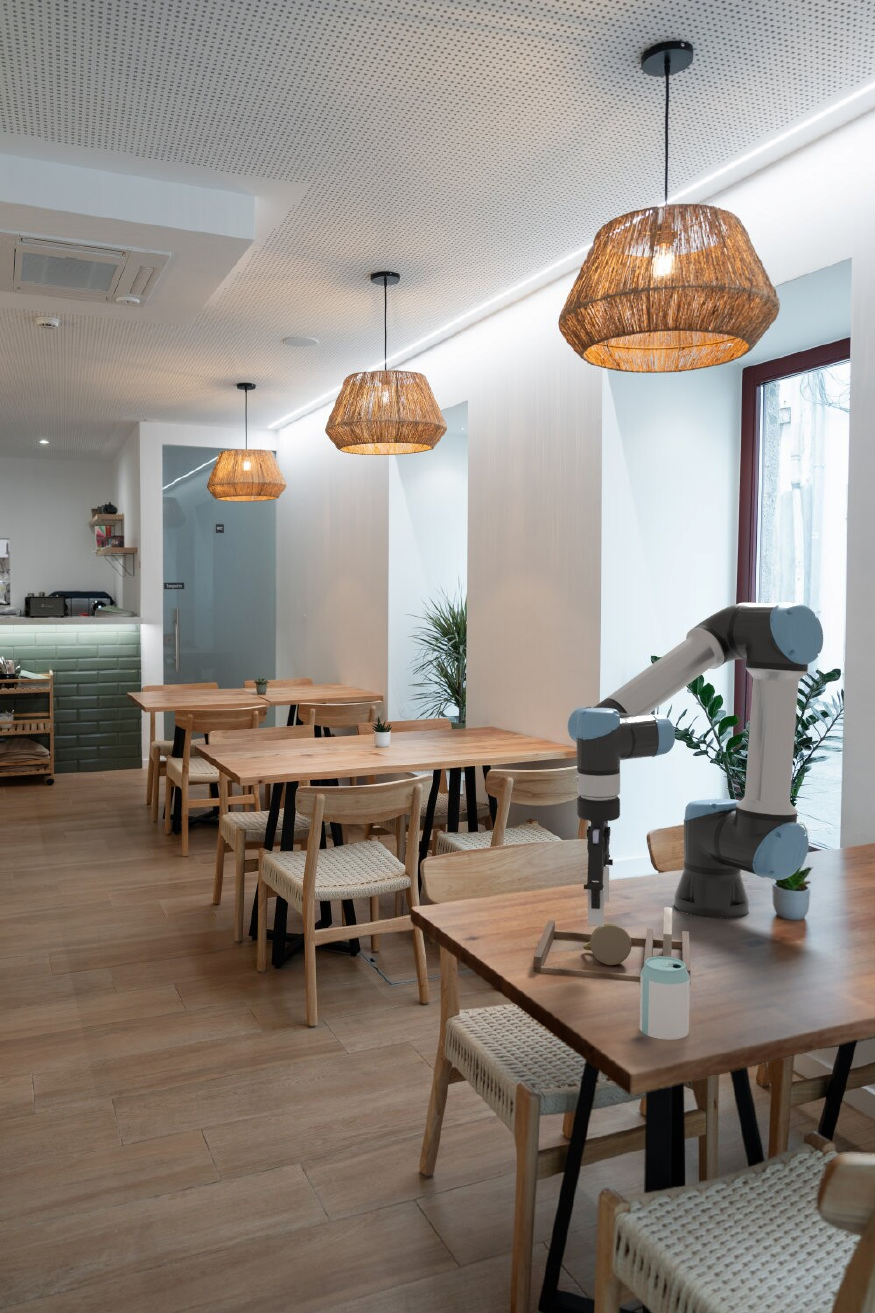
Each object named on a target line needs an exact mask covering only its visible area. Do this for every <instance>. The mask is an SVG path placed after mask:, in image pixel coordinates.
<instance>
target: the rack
mask: <svg viewBox="0 0 875 1313" xmlns="http://www.w3.org/2000/svg"><path fill="white" fill-rule="evenodd" d="M555 928H556V921H555V920H551V919H550V920H549V919H548V921H547V923H546V926H545V928H544V931H543V933H542V936H541V938H540V940H539V944H538V945H537V948H536V951H535V953H534V957H533V973H543V974H556V975H568V976H580V977H591V978H593V977H594V978H604V979H617V980H629V981H639V982H640V977H641V974H632V973H626V972H625V973H622V972H610V971H604V970H603V971H600V970H591V969H578V968H569V967H559V966H550V965H549V966H547V965H545V963H546V960H547V958H548V956H549V953H564V952H581V951H586V950H585V949H584V948H583V945H584V944H586V943H588V942H590V938H591V935H592V933H593V932H585V931H584V932H583V931H570V930H561V929H560V930H559V929H558V930H557V929H555ZM662 932H663V935H662V938H656V937H654V928H650V927H646V933H645V935H646V936H645V937H643V936H633V935H632V936H631V935H629V936H630V939H631V949H632V948H633V949H634V948H644V956H643V967H644V966H645V961H646V960H647V959H648V958H651V957H653V950H654V947H662V956H664V957H672V949H673V948H677V949H681V959H682V960H681V961H683V962H684V963H685V965H686V967H685V968H686V970H687V972H688V973H689V975H690V976H691V955H690V954H691V953H690V952H691V950H690V931H686V930H682V931H681V934H682V935H681V940H679V939H678V940H677V939H672V938H673V935H672V934H673V907H668V906H664V907H663V931H662Z"/></svg>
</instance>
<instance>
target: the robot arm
mask: <svg viewBox="0 0 875 1313" xmlns="http://www.w3.org/2000/svg"><path fill="white" fill-rule="evenodd" d="M823 645H824V632H823V628H822V624H821V621H820V619H819V618H818V616H816V614H815V612H814V610H812V609H811V608H810V607H808V606H806V605H804V604H801V603H793V602H787V601H785V602H739V603H737V604H732V605H730V606H727V607H725V608H722V609H721V610H719V611H717V612H715V613H714V614H712V615H710V616H709V617H707V618H706V619H703V621H701V622H699V623H698V624H696V625H695V626H694V627H693V628H691V629H690V630H688V632H687V634H686V637H685V640H683V641H682V642H680V643H679V644H678V645H676V646H675V647H673V649H671V650H670V651H669V652H667V653H666V654H664V655H663V656H662V657H660V658H659V659H658V660H656V661H655V662H653V663H652V664H650V666H648V667H646V668H645V669H644V670H643V671H642V672H639V673H638V674H637V675H636V676H634V677H633V678H632V679H630V680H629V681H628V682H626V683H625V684H623V685H622V686H621V687H619V688H618V689H617V690H615V691H614V692H613V693H612V694H611V693H610V695H608V697H606V698H604V699H603V700H602V701H600V702H599V703H597V704H596V705H594V706H593V707H591V706H582V707H578V708H576V709H575V710H573V711H572V713H571V714H570V716H569V717H568V720H567V730H568V733H569V734H568V735H569V736H570V738H571V739H572V741H573V742H574V743H576V770H577V771H576V772H577V773H576V775H577V776H576V775H575V776H573V782H574V783H575V782H576V783H577V787H576V788H577V789H576V790H577V793H578V794H579V795H578V797H577V798H576V804H577V805H576V807H577V808H576V814H577V816H578V818H579V819H582V820H584V821H589V822H590V825H587V829H586V839H587V845H586V846H587V847H586V848H587V854H588V855H587V856H588V857H587V882H586V884H583V890H587V926H589V927H598V926H599V927H604V924H605V903H609V902H610V866H614V859H610V857H611V854H610V842H611V841H610V839H611V838H610V836H611V826H609V822H612V821H615V820H618V819H619V818H620V817H621V799H620V798H619V795H620V794H621V761H625V760H632V759H642V758H649V757H652V758H654V757H657V756H660V755H661V756H662V755H666V754H667V753H669V752H670V751H671V750H672V749H673V746H674V744H675V742H676V741H675V740H676V738H675V737H676V735H675V734H676V731H675V727H674V725H673V723H672V722H671V720H670V719H669V718H668V717H667V716H665V715H663V714H652V712H653V711H655V710H657V709H658V708H660V706H662V705H663V704H664V703H666V702H667V701H668V700H670V699H671V698H673V696H675V695H676V694H678V693H679V692H680V691H682V689H684V688H685V687H687V686H688V685H689V684H691V683H693V681H694V680H696V679H698V677H700V676H701V675H703V674H704V673H705V672H707V671H708V670H709V669H710V670H716V669H719V668H720V667H721V666H723V665H724V664H725V663H728V662H731V661H735V660H745V670H746V671H747V672H748V674H749V675H750V676H751V678H752V688H751V690H752V691H751V702H750V718H749V730H748V731H749V732H748V744H747V758H746V772H745V773H746V774H745V786H744V787H745V788H744V796H743V798H742V799H741V800H738V799H731V798H715V799H714V798H712V799H711V798H710V799H699V800H693V801H691V802H688V803H687V805H686V806H685V811H684V819H683V871H682V873H681V876H680V878H679V882H678V885H677V887H676V890H675V892H674V907H675V909H676V910H678V911H680V912H681V911H682V912H681V913H684V914H686V913H688V914H687V915H690V914H692V915H691V916H694V915H695V916H696V917H699V916H700V918H706V917H707V918H709V919H733V918H740V917H743V915H744V916H746V915H747V914H748V913H749V905H750V902H749V898H748V894H747V892H746V888H745V884H744V881H743V878H742V874H741V872H742V871H744V872H747V873H750V874H754V875H756V876H757V877H759V878H763V879H764V878H767V879H770V880H775V881H781V880H786V879H788V878H790V877H791V876H793V875H794V874H796V873H797V871H798V869H800V868H801V867H802V865H803V864H804V862H805V860H806V857H807V854H808V852H809V844H810V843H809V836H808V833H806V832H807V831H806V829H805V828H804V827H803V826H802V825H801V824H799V823H797V822H798V810H797V809H796V808H795V806H794V805H793V804H792V803H791V792H792V777H793V767H794V764H793V763H794V750H795V739H796V738H795V737H796V736H795V735H796V724H797V723H796V720H797V709H798V708H797V707H798V695H799V694H798V692H799V681H801V679H803V677H805V676H806V675H807V674H808V670H809V664H810V663H813V662H815V661H816V660H817V658H818V657H819V655H820V654H821V652H822V650H823V647H824V646H823ZM745 914H746V915H745ZM695 916H694V917H695Z"/></svg>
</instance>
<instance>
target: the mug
mask: <svg viewBox="0 0 875 1313" xmlns="http://www.w3.org/2000/svg"><path fill="white" fill-rule="evenodd" d="M591 933H592V935H591V938H590V942H588V943H586V944H584V945H583V948H584V949H585V950H584V951H591V952H592V955H593V956H594V957H595V959H596V960H597V961H599V962H601V963H603V964H605V965H607V966H615V965H616V966H617V965H619V964H621V963H623V962H624V961H625V960H626V959H627V958H628V957H629V955H630V953H631V951H632V948H631V939H630V936H631V935H630V934H629V932H628V930H626V929H625V928H624V927H623V926H622V925H619V924H617V923H613V922H606V923H605V922H604V927H599V926H596V928H595V929H593V932H591Z"/></svg>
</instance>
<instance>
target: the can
mask: <svg viewBox="0 0 875 1313" xmlns="http://www.w3.org/2000/svg"><path fill="white" fill-rule="evenodd" d="M685 967H686V965H685V963H684V962H683V961H682V960H681V959H679V958H675V957H672V956H671V957H664V956H663V955H662V956H660V955H659V956H652V957H651V958H648V959H647V960H646V961H645V966H644V965H643V967H642V969H641V970H640V975H641V977H640V981H639V982H640V984H639V985H640V987H639V990H640V993H639V1030H640V1032H641V1033H642V1034H644V1035H646V1036H648V1037H651V1038H654V1039H659V1040H670V1041H671V1040H673V1041H674V1040H680V1039H683V1038H686V1037H687V1036H688V1035H689V1034H690V1002H691V1000H690V996H691V995H690V992H691V974H690V975H689V973H688V972H687V970H686V968H685Z"/></svg>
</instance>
